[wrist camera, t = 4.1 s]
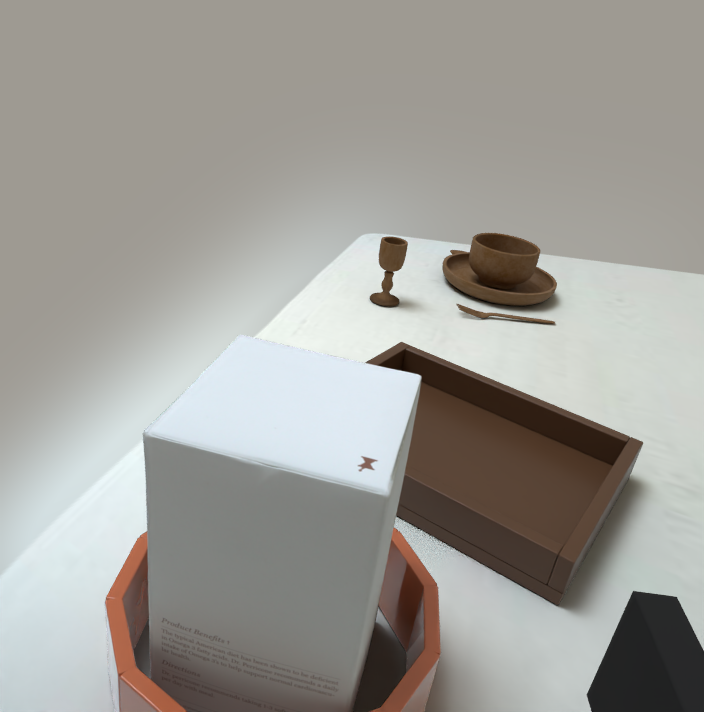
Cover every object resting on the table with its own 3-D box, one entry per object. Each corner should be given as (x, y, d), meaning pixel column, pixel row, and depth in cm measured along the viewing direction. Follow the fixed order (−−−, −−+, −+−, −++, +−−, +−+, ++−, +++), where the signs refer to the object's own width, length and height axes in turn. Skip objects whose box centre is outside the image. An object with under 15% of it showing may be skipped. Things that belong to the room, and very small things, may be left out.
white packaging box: (379, 618, 30) (432, 372, 24) (334, 781, 23) (393, 497, 17) (225, 572, 31) (240, 327, 25) (142, 714, 24) (136, 428, 19)
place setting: (579, 329, 63) (597, 271, 60) (371, 307, 61) (381, 246, 58) (526, 265, 78) (540, 216, 76) (359, 246, 76) (367, 195, 74)
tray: (277, 449, 40) (281, 410, 38) (395, 374, 50) (401, 341, 49) (558, 606, 32) (575, 563, 30) (629, 478, 42) (643, 441, 41)
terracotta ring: (43, 676, 25) (34, 601, 23) (260, 516, 34) (266, 454, 33) (292, 917, 20) (306, 843, 18) (471, 649, 29) (492, 582, 27)
